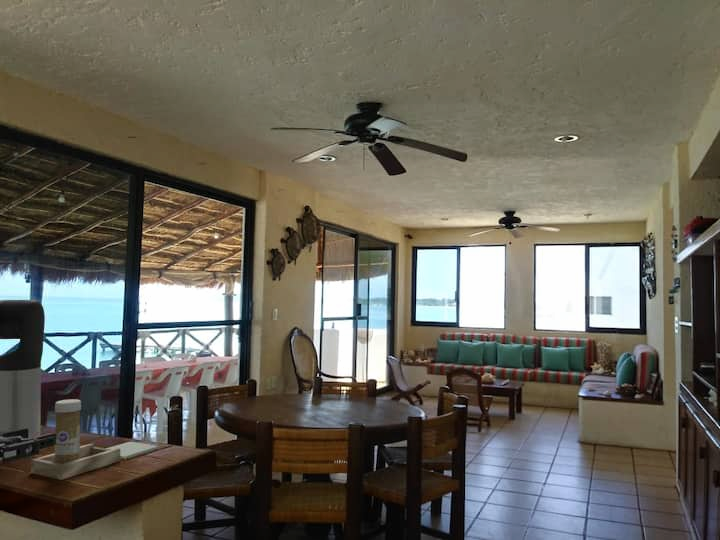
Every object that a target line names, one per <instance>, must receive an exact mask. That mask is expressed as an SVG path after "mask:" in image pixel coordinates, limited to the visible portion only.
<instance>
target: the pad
mask: <svg viewBox="0 0 720 540" xmlns="http://www.w3.org/2000/svg"><path fill="white" fill-rule="evenodd" d="M116 448H119V449H120V460H124V459H125V460H127V458H128V459H130V458H131V459H132V458H135V457H137V456H140V455H143V454H144V455H145V454H146V453H150V452H153V451H157V450H159V445H155V444H147V443H141V442H136V441H128V442H124V443H121V444H117V445H112V446H109V447H107V448H105V449H111V450H113V449H116Z"/></svg>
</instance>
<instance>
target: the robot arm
mask: <svg viewBox="0 0 720 540" xmlns="http://www.w3.org/2000/svg"><path fill="white" fill-rule="evenodd" d="M45 316H46V314H45V309H44V307H43V304H42V303H41V302H40V301H39V300H37V299H3V300H0V340H19V344H18V347H17V348H15V349H14V350H12V351H10V352H7V353H5V354H2V355H0V461H2V462H3V463H9V462H13V461H16V460H21V459H25V458H29V457H33V456H37V455H40V450H43V449H45V448H46V449H47V448H49V447H55V444H56V434H55V433H53V432H51V433H46V434H43V435H41V431H42V430H41V414H42V413H41V405H42V403H41V402H42V401H41V398H42V395H41V394H42V393H41V392H42V391H41V389H42V387H41V386H42V382H41V381H42V380H41V379H42V376H41V375H42V357H43V352H44V337H45V336H44V334H45V325H46V323H45V322H46V317H45ZM27 447H28V448H27Z"/></svg>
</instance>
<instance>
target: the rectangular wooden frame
mask: <svg viewBox="0 0 720 540" xmlns="http://www.w3.org/2000/svg"><path fill="white" fill-rule="evenodd" d="M30 461H31V463H30V464H31V465H30V466H31V468H30V472H31V473H32V474H35V475H40V476H44V477H48V478H53V479H57V480H60V481H61V480H65V479H67V478H71V477H74V476H78V475H80V474H83V473H86V472H90V471H93V470H96V469H99V468H103V467H105V466H109V465H113V464H115V462H116V463H119V462H121V459H120V449H119V448H116V449H113V450H111V449H106V448H105V447H98V446H95V444H94V443H88V444H85V445H80V451H79V459H78V460H75V461H71V462H68V463H64V464H61V463H56V462H55V452H54V453H51V454H47V455H44V456H43V455H42V456H40V457H37V458H32V459H31V460H30ZM118 461H119V462H118ZM112 463H113V464H112Z"/></svg>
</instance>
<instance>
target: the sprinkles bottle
mask: <svg viewBox="0 0 720 540" xmlns="http://www.w3.org/2000/svg"><path fill="white" fill-rule="evenodd" d="M54 404H55V405H54V412H55V433H54V434H56V444H55V445H54V453H55V462H56V463H61V464H64V463H68V462H71V461H75V460H78V459H79V451H80V446H81V424H80V423H81V420H80V419H81V418H80V417H81V409H82V401H81V400H80V399H78V398H77V399H71V398H70V399H69V398H68V399H62V400H58V401H56V402H55V403H54Z"/></svg>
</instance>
